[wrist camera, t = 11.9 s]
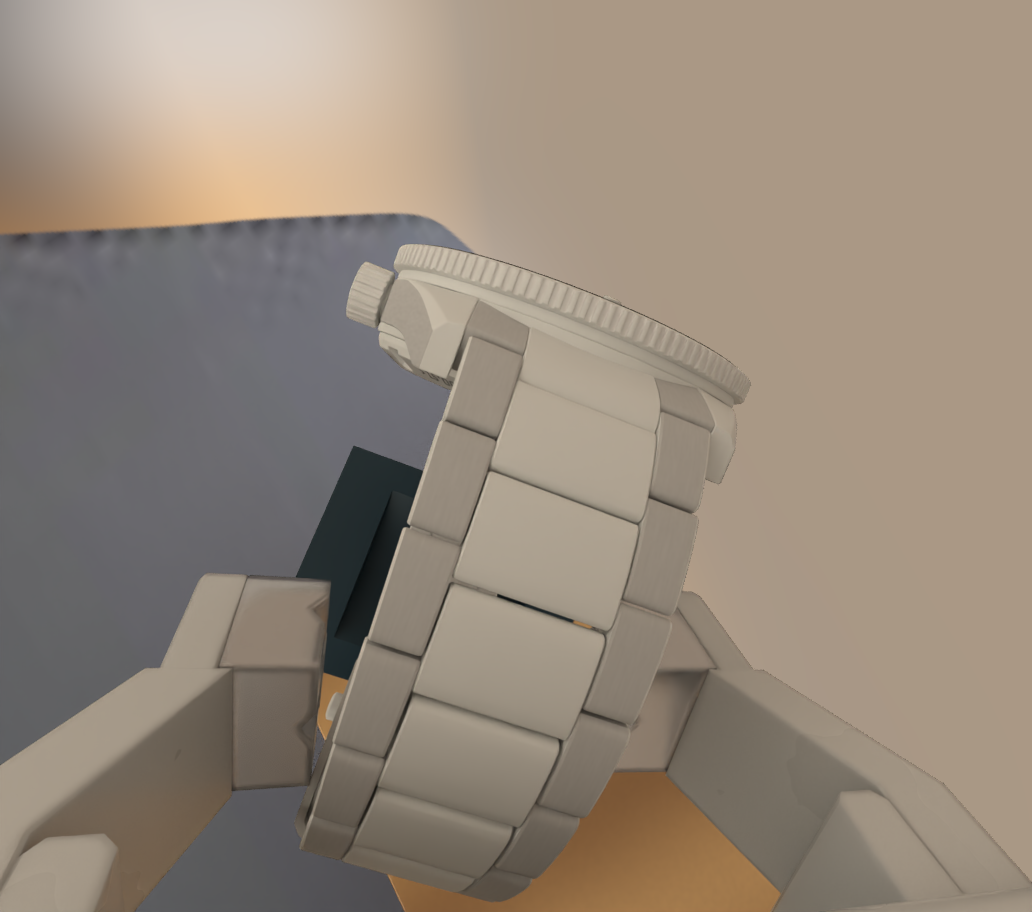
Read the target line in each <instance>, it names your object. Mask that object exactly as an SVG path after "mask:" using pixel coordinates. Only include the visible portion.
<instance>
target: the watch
mask: <svg viewBox="0 0 1032 912" xmlns="http://www.w3.org/2000/svg"><path fill="white" fill-rule="evenodd" d="M394 269H395V270H396V271H397V272H398V273H399V276H398V279H397V280H395V275H394V272H391V271H389V270H386V269H384V268H381V267H379V266H376V265H374V264H371V263H369V262H365V263H364V264H363V265H362V266H361V268H360V269H359V271H358V273H357V275H356V277H355V279H354V282H353V284H352V287H351V290H350V294H349V298H348V302H347V309H346V312H347V317H348V318H350V319H352V320H355V321H357V322H360V323H362V324H365V325H367V326H370V327H373V328H376V327H377V326H378V325H379V327H378V330H379V331H381V332H380V335H379V343H380V347H381V348H382V349H383V350H384V351H385V352H386V353H387V354H388V355H389V356H390V357H391V358H392V359H393V360H394V361H395V362H396V363H397V364H398V365H399V366H400V367H402V368H403V369H405V370H407V371H409V372H411V373H413V374H415V375H417V376H419V377H421V378H424V379H426V380H428V381H430V382H433V383H435V384H437V385H439V386H442V387H444V388H446V389H449V390H451V393H450V396H449V399H448V402H447V405H446V408H445V412H444V415H443V418H442V421H440V423H439V426H438V428H437V431H436V434H435V437H434V440H433V443H432V446H431V449H430V452H429V455H428V458H427V461H426V465H425V468H424V471H422V470H419V469H416V468H414V467H411V466H408V465H405V464H403V463H400V462H397V461H394V460H392V459H389V458H386V457H383V456H381V455H378V454H375V453H373V452H370V451H367V450H364V449H362V448H359V447H356V446H353V448H352V451H351V453H350V455H349V457H348V460H347V462H346V464H345V466H344V469H343V471H342V473H341V476H340V478H339V480H338V482H337V485H336V487H335V489H334V491H333V494H332V496H331V498H330V500H329V503H328V505H327V507H326V510H325V512H324V514H323V516H322V519H321V521H320V523H319V525H318V528H317V530H316V532H315V535H314V537H313V539H312V541H311V544H310V546H309V548H308V550H307V553H306V555H305V557H304V559H303V562H302V564H301V566H300V569H299V571H298V573H297V575H296V578H311V579H328V580H331V590H330V606H329V615H328V624H327V641H326V651H325V662H324V672H323V673H326V674H329V675H332V676H336V677H339V678H342V679H345V680H348V683H347V686H346V688H345V691H344V693H343V694H341V693H338V692H336V693H335V694H334V695H333V696H332V698H331V700H330V702H329V704H328V707H327V711H326V719H327V720H330V721H333V722H332V725H331V727H330V730H329V732H328V735H327V738H326V740H325V743H324V745H323V748H322V751H321V753H320V756H319V758H318V761H317V763H316V766H315V769H314V771H313V774H312V777H311V781H310V785H309V786H308V787H307V790H306V792H305V795H304V798H303V800H302V803H301V806H300V808H299V811H298V814H297V816H296V819H295V822H294V824H295V827H296V830H297V833H298V835H299V836H300V837H301V838H302V840H301V843H300V846H299V848H300V849H301V850H304V851H307V852H311V853H315V854H318V855H322V856H326V857H329V858H333V859H336V860H340V859H341V860H342V862H345V863H349V864H352V865H356V866H360V867H363V868H367V869H370V870H374V871H378V872H381V873H385V874H388V875H392V876H396V877H399V878H403V879H407V880H410V881H414V882H417V883H421V884H425V885H428V886H432V887H435V888H439V889H443V890H446V891H450V892H455V893H459V894H463V895H466V896H470V897H473V898H477V899H481V900H484V901H488V902H492V903H493V902H495V901H497V902H502V901H505V900H508V899H511V898H512V897H514V896H516V895H518V894H520V893H521V892H522V891H524V890H525V889H527V888H528V887H529V886H530V884H531V882H532V879H536V878H538V877H540V876H541V875H542V874H543V873H544V871H545V870H546V869H547V868H548V867H549V866H550V865H551V864H552V863H553V862H554V860H555V859H556V858H557V857H558V855H559V854H560V853H561V852H562V850H563V849H564V848H565V846H566V845H567V843H568V842H569V841H570V839H571V838H572V836H573V835H574V834H575V832H576V830H577V828H578V825H579V820H580V818H585V817H587V816H588V815H589V813H590V812H591V810H592V809H593V807H594V805H595V804H596V802H597V800H598V799H599V797H600V795H601V794H602V792H603V790H604V789H605V787H606V785H607V783H608V781H609V779H610V778H611V776H612V774H613V772H614V770H615V768H616V766H617V764H618V762H619V760H620V758H621V756H622V754H623V753H624V750H625V748H626V746H627V744H628V742H629V739H630V729H629V727H628V725H631V724H633V723H634V722H635V721H636V719H637V717H638V715H639V713H640V711H641V709H642V706H643V704H644V702H645V699H646V697H647V694H648V692H649V690H650V687H651V685H652V682H653V680H654V677H655V675H656V672H657V670H658V667H659V665H660V662H661V659H662V656H663V653H664V651H665V648H666V645H667V642H668V639H669V636H670V633H671V630H672V623H671V621H670V620H669V619H666V618H663V617H660V616H657V615H654V614H652V613H649V612H646V611H643V610H640V609H637V608H635V607H632V606H629V605H626V604H623V603H620V602H621V600H623V601H626V602H629V603H632V604H635V605H637V606H640V607H643V608H646V609H649V610H652V611H654V612H657V613H660V614H663V615H666V616H671V615H672V614H674V612H675V610H676V608H677V605H678V602H679V598H680V595H681V592H682V588H683V585H684V581H685V578H686V574H687V570H688V566H689V562H690V559H691V555H692V551H693V546H694V542H695V538H696V533H697V528H698V521H699V520H698V518H697V516H695V515H692V513H694V512H696V511H697V510H698V508H699V506H700V503H701V499H702V494H703V489H704V483H705V479H706V480H708V481H711V482H714V483H717V484H720V483H721V481H722V479H723V477H724V474H725V472H726V470H727V467H728V465H729V463H730V460H731V458H732V456H733V453H734V451H735V444H736V416H735V412H734V410H733V409H732V407H733V405H734V404H741V403H743V402H744V400H745V397H746V395H747V393H748V390H749V388H750V386H751V382H750V380H749V379H748V377H747V376H746V375H745V374H744V373H743V372H741V371H740V370H739V369H738V368H737V367H736V366H734V365H733V364H732V363H731V362H730V361H728V360H727V359H725V358H724V357H723V356H721V355H719V354H718V353H716V352H714V351H713V350H711V349H710V348H708V347H706V346H705V345H703V344H701V343H699V342H697V341H696V340H694V339H692V338H690V337H688V336H686V335H684V334H682V333H680V332H678V331H676V330H674V329H672V328H670V327H668V326H666V325H664V324H662V323H660V322H658V321H656V320H654V319H651V318H649V317H647V316H645V315H643V314H640V313H638V312H636V311H634V310H631V309H629V308H626V307H624V306H622V305H621V302H620V301H618V300H616V299H614V298H611V297H609V296H603V297H600V296H598V295H595V294H593V293H590V292H588V291H585V290H583V289H580V288H577V287H575V286H572V285H570V284H567V283H564V282H562V281H559V280H556V279H553V278H550V277H548V276H545V275H542V274H539V273H536V272H533V271H530V270H527V269H524V268H521V267H518V266H515V265H512V264H509V263H505V262H502V261H499V260H495V259H492V258H488V257H485V256H481V255H477V254H474V253H470V252H466V251H461V250H457V249H452V248H447V247H441V246H435V245H419V244H408V245H403V246H401V247H400V249H399V251H398V254H397V257H396V260H395V262H394ZM379 323H380V324H379ZM574 620H575V621H578V622H581V623H584V624H587V625H590V626H593V627H596V628H599V631H595V630H592V629H589V628H586V627H583V626H580V625H577V624H574V623H573V622H574ZM627 724H628V725H627Z"/></svg>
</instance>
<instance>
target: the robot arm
mask: <svg viewBox="0 0 1032 912" xmlns="http://www.w3.org/2000/svg"><path fill="white" fill-rule="evenodd" d="M330 590H331V580H328V579H311V578H294V577H278V576H261V575H250V576H248V575H240V574H217V573H206V574H205V575H204V576H203V577H202V578H201V579H200V580H199V582H198V584H197V586H196V588H195V591H194V593H193V595H192V597H191V600H190V602H189V604H188V606H187V609H186V611H185V613H184V615H183V618H182V620H181V622H180V624H179V627H178V629H177V631H176V633H175V636H174V638H173V640H172V642H171V645H170V647H169V649H168V651H167V654H166V656H165V658H164V660H163V663H162V665H161V667H160V668H145V669H143V670H142V671H140V672H139V673H137V674H136V675H134V676H133V677H131V678H130V679H128V680H127V681H125V682H124V683H122V684H121V685H119V686H118V687H117V688H115V689H114V690H112V691H111V692H109V693H108V694H106V695H105V696H103V697H102V698H100V699H99V700H97V701H96V702H94V703H93V704H91V705H90V706H88V707H87V708H85V709H84V710H82V711H81V712H79V713H78V714H76V715H75V716H73V717H72V718H70V719H69V720H67V721H66V722H64V723H63V724H61V725H60V726H58V727H57V728H55V729H54V730H52V731H51V732H49V733H48V734H46V735H45V736H43V737H42V738H40V739H39V740H38V741H36V742H35V743H33V744H32V745H30V746H29V747H27V748H26V749H24V750H23V751H21V752H20V753H18V754H17V755H15V756H14V757H12V758H11V759H9V760H8V761H6V762H5V763H3V764H2V765H0V912H134V911H135V910H136V909H137V907H138V906H139V905H140V904H141V903H142V902H143V900H144V899H145V898H146V897H147V896H148V894H149V893H150V892H151V891H152V890H153V888H154V887H155V886H156V885H157V884H158V883H159V881H160V880H161V879H162V878H163V877H164V875H165V874H166V873H167V872H168V871H169V869H170V868H171V867H172V866H173V865H174V864H175V862H176V861H177V860H178V859H179V858H180V856H181V855H182V854H183V853H184V852H185V850H186V849H187V848H188V847H189V846H190V844H191V843H192V842H193V841H194V840H195V839H196V837H197V836H198V835H199V834H200V833H201V831H202V830H203V829H204V828H205V827H206V825H207V824H208V823H209V822H210V821H211V820H212V818H213V817H214V816H215V815H216V814H217V812H218V811H219V810H220V809H221V808H222V806H223V805H224V804H225V803H226V802H227V801H228V799H229V798H230V797H231V791H238V790H252V789H267V788H281V787H295V786H309V785H310V781H311V773H312V765H313V758H314V750H315V742H316V733H317V722H318V711H319V708H320V699H321V690H322V681H323V672H324V662H325V651H326V641H327V624H328V615H329V606H330ZM620 603H623V604H626V605H629V606H632V607H635V608H637V609H640V610H643V611H646V612H649V613H652V614H654V615H657V616H660V617H663V618H666V619H669V620H670V621H671V623H672V630H671V633H670V636H669V639H668V642H667V645H666V648H665V651H664V653H663V656H662V659H661V662H660V665H659V667H658V670H657V672H656V675H655V677H654V680H653V682H652V685H651V687H650V690H649V692H648V694H647V697H646V699H645V702H644V704H643V706H642V709H641V711H640V713H639V715H638V717H637V719H636V721H635V722H634V723H633V724H631V725H628V724H627V725H628V727H629V729H630V739H629V742H628V744H627V746H626V748H625V750H624V753H623V754H622V756H621V758H620V760H619V762H618V764H617V766H616V768H615V770H614V772H613V773H623V772H666V776H667V777H668V778H669V779H670V780H671V781H672V782H673V783H674V784H675V786H676V787H677V788H678V789H679V790H680V791H681V792H682V793H683V794H684V795H685V796H686V797H687V798H688V799H689V800H690V801H691V802H692V803H693V804H694V805H695V806H696V807H697V808H698V809H699V810H700V811H701V812H702V813H703V814H704V815H705V816H706V817H707V818H708V819H709V820H710V821H711V822H712V823H713V824H714V825H715V826H716V828H717V829H718V830H719V831H720V832H721V833H722V834H723V835H724V836H725V837H726V838H727V839H728V840H729V841H730V842H731V843H732V844H733V845H734V846H735V847H736V848H737V849H738V850H739V851H740V852H741V853H742V854H743V855H744V856H745V857H746V858H747V859H748V860H749V861H750V862H751V863H752V864H753V865H754V866H755V867H756V868H757V869H758V871H759V872H760V873H761V874H762V875H763V876H764V877H765V878H766V879H767V880H768V881H769V882H770V883H771V884H772V885H773V886H774V887H775V888H776V889H777V890H778V891H779V892H780V893H781V894H780V896H779V898H778V899H777V901H776V903H775V904H774V906H773V908H772V910H771V911H770V912H1032V882H1031V881H1030V880H1029V879H1028V877H1027V876H1026V875H1025V874H1024V873H1023V872H1022V871H1021V870H1020V868H1019V867H1018V866H1017V865H1016V864H1015V863H1014V862H1013V861H1012V859H1011V858H1010V857H1009V856H1008V855H1007V854H1006V853H1005V852H1004V851H1003V849H1002V848H1001V847H1000V846H999V845H998V844H997V843H996V842H995V840H994V839H993V838H992V837H991V836H990V835H989V834H988V833H987V831H986V830H985V829H984V828H983V827H982V826H981V825H980V824H979V822H978V821H977V820H976V819H975V818H974V817H973V816H972V815H971V814H970V813H969V811H968V810H967V809H966V808H965V807H964V806H963V805H962V803H961V802H960V801H959V800H958V799H957V798H956V797H955V796H954V795H953V793H952V792H951V791H950V790H949V789H948V788H947V787H946V786H945V784H944V783H942V782H941V781H939V780H937V779H936V778H934V777H933V776H931V775H929V774H928V773H926V772H925V771H923V770H922V769H920V768H918V767H917V766H915V765H914V764H912V763H910V762H909V761H907V760H906V759H904V758H902V757H901V756H899V755H898V754H896V753H895V752H893V751H891V750H890V749H888V748H887V747H885V746H883V745H882V744H880V743H879V742H877V741H875V740H874V739H872V738H871V737H869V736H868V735H866V734H864V733H863V732H861V731H859V730H858V729H856V728H855V727H853V726H852V725H850V724H848V723H847V722H845V721H844V720H842V719H841V718H839V717H837V716H836V715H834V714H833V713H831V712H829V711H828V710H826V709H825V708H823V707H821V706H820V705H818V704H817V703H815V702H813V701H812V700H810V699H809V698H807V697H806V696H804V695H802V694H801V693H799V692H798V691H796V690H794V689H793V688H791V687H790V686H788V685H787V684H785V683H783V682H782V681H780V680H779V679H777V678H775V677H773V676H772V675H771V674H769V673H767V672H766V671H764V670H753V668H752V667H751V666H750V664H749V663H748V661H747V660H746V659H745V657H744V656H743V654H742V653H741V652H740V650H739V649H738V648H737V646H736V645H735V644H734V642H733V641H732V640H731V638H730V637H729V635H728V634H727V633H726V631H725V630H724V628H723V627H722V626H721V624H720V623H719V622H718V620H717V619H716V617H715V616H714V615H713V613H712V612H711V611H710V609H709V608H708V606H707V605H706V604H705V602H704V601H703V600H702V598H701V597H700V596H698V595H697V594H695V593H693V592H681V595H680V598H679V602H678V605H677V608H676V610H675V612H674V614H672V615H671V616H666V615H663V614H660V613H657V612H654V611H652V610H649V609H646V608H643V607H640V606H637V605H635V604H632V603H629V602H626V601H623V600H621V602H620ZM590 629H592V630H595V631H599V628H596V627H593V626H592V627H591V628H590Z"/></svg>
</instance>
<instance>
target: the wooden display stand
mask: <svg viewBox="0 0 1032 912" xmlns="http://www.w3.org/2000/svg"><path fill="white" fill-rule="evenodd" d="M573 623H574V624H577V625H580V626H583V627H586V628H589V629H590V628H591V627H592V626H590V625H587V624H584V623H581V622H578V621H575V620H574V622H573ZM347 683H348V680H345V679H342V678H339V677H336V676H332V675H329V674H326V673H323V681H322V690H321V699H320V708H319V711H318V722H317V724H318V727H319V729H320V731H321V733H322V735H323V737H324V739H325V740H326V738H327V735H328V732H329V730H330V727H331V725H332V722H333V721H330V720H327V719H326V711H327V707H328V704H329V702H330V700H331V698H332V696H333V695H334V694H335V693H336V692H338V693H341V694H343V693H344V691H345V688H346V686H347ZM387 875H388V874H387ZM388 877H389V880H390V882H391V884H392V886H393V888H394V890H395V892H396V895H397V897H398V899H399V901H400V903H401V905H402V908H403V910H404V912H770V911H771V910H772V908H773V906H774V904H775V903H776V901H777V899H778V898H779V896H780V894H781V893H780V892H779V891H778V890H777V889H776V888H775V887H774V886H773V885H772V884H771V883H770V882H769V881H768V880H767V879H766V878H765V877H764V876H763V875H762V874H761V873H760V872H759V871H758V869H757V868H756V867H755V866H754V865H753V864H752V863H751V862H750V861H749V860H748V859H747V858H746V857H745V856H744V855H743V854H742V853H741V852H740V851H739V850H738V849H737V848H736V847H735V846H734V845H733V844H732V843H731V842H730V841H729V840H728V839H727V838H726V837H725V836H724V835H723V834H722V833H721V832H720V831H719V830H718V829H717V828H716V826H715V825H714V824H713V823H712V822H711V821H710V820H709V819H708V818H707V817H706V816H705V815H704V814H703V813H702V812H701V811H700V810H699V809H698V808H697V807H696V806H695V805H694V804H693V803H692V802H691V801H690V800H689V799H688V798H687V797H686V796H685V795H684V794H683V793H682V792H681V791H680V790H679V789H678V788H677V787H676V786H675V784H674V783H673V782H672V781H671V780H670V779H669V778H668V777H667V776H666V772H623V773H613V774H612V776H611V778H610V779H609V781H608V783H607V785H606V787H605V789H604V790H603V792H602V794H601V795H600V797H599V799H598V800H597V802H596V804H595V805H594V807H593V809H592V810H591V812H590V813H589V815H588V816H587V817H585V818H580V820H579V825H578V828H577V830H576V832H575V834H574V835H573V836H572V838H571V839H570V841H569V842H568V843H567V845H566V846H565V848H564V849H563V850H562V852H561V853H560V854H559V855H558V857H557V858H556V859H555V860H554V862H553V863H552V864H551V865H550V866H549V867H548V868H547V869H546V870H545V871H544V873H543V874H542V875H541V876H540V877H538V878H536V879H532V882H531V884H530V886H529V887H528V888H527V889H525V890H524V891H522V892H521V893H520V894H518V895H516V896H514V897H512V898H511V899H508V900H505V901H502V902H497V901H495V902H493V903H492V902H488V901H484V900H481V899H477V898H473V897H470V896H466V895H463V894H459V893H455V892H450V891H446V890H443V889H439V888H435V887H432V886H428V885H425V884H421V883H417V882H414V881H410V880H407V879H403V878H399V877H396V876H392V875H388Z"/></svg>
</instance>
